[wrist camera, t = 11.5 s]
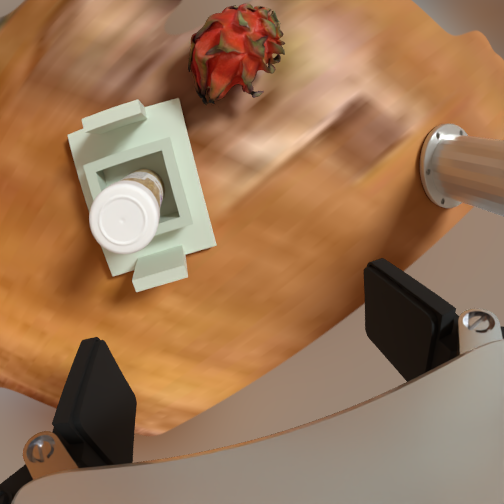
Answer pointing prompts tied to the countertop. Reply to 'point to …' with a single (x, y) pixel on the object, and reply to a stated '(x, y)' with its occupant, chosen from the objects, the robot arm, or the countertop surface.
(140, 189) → the sprinkles bottle
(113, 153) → the caddy
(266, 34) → the dragon fruit
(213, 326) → the countertop surface
